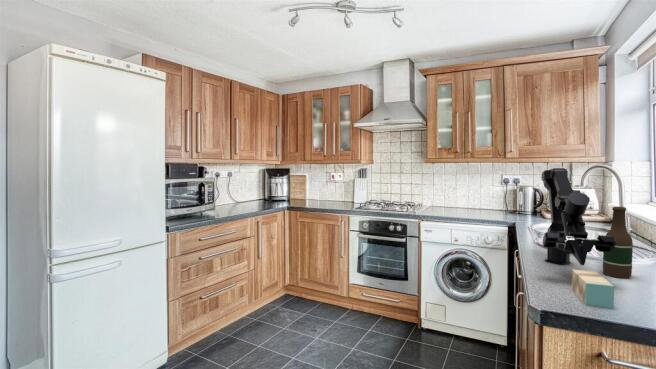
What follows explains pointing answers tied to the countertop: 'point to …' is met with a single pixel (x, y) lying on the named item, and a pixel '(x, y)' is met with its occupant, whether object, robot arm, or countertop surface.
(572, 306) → the countertop surface
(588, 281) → the pine block
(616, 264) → the beer bottle
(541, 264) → the countertop surface
